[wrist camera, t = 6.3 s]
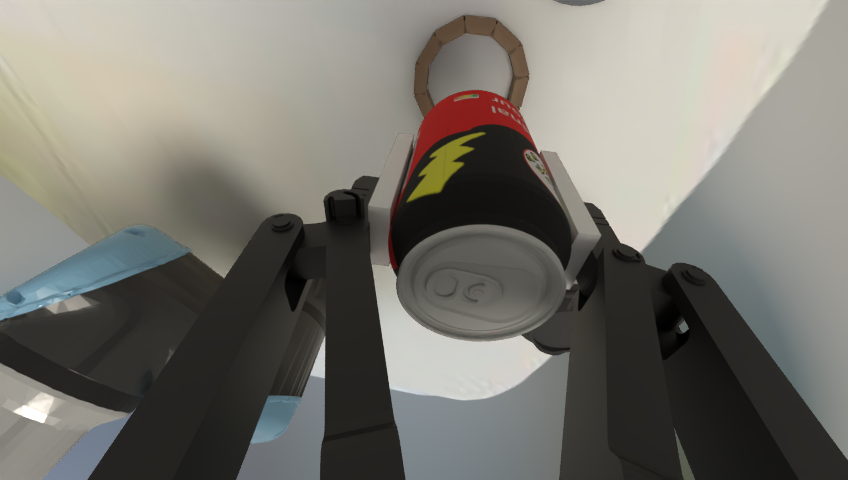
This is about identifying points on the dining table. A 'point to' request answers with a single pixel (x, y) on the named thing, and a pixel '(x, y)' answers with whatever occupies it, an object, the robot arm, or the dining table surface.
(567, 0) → the slate coaster
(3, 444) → the robot arm
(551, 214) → the beverage can
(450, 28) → the ring holder
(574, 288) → the coffee cup
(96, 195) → the dining table surface
